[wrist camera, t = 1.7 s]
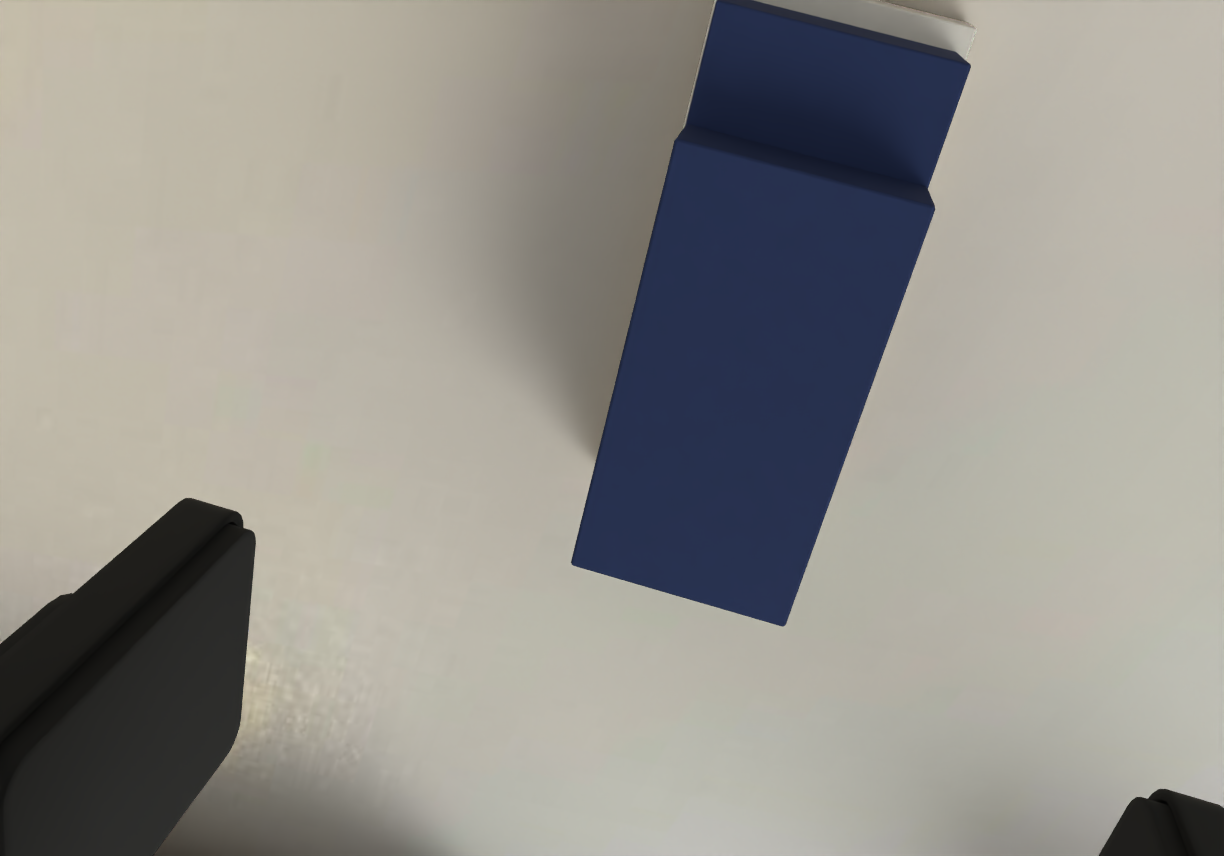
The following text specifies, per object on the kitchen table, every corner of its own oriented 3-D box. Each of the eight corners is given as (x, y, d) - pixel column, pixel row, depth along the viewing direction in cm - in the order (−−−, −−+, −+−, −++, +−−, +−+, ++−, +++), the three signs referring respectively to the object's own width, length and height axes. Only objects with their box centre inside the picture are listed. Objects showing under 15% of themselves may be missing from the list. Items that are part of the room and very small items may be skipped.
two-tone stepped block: (601, 469, 27) (557, 575, 23) (728, -38, 22) (703, -31, 18) (795, 525, 27) (789, 642, 23) (970, 23, 22) (1008, 46, 17)
